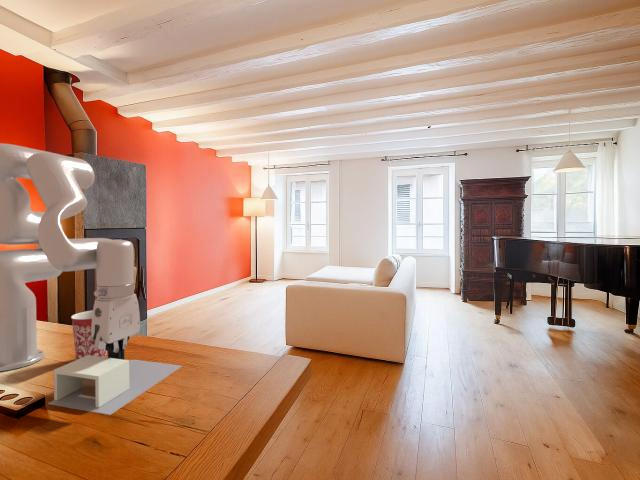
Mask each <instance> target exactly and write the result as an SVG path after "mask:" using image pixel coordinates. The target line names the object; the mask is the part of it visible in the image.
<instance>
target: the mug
mask: <svg viewBox="0 0 640 480" xmlns="http://www.w3.org/2000/svg"><path fill="white" fill-rule="evenodd" d="M92 314H93V310H86V311H83V312H78V313H75V314H72V315H71V316H70V319H71V323H72V333H73V334H72V335H73V343H74V353H75V361H76V360H78V359H80V358H83V357H85V356H87V355H91V356H99V357H106V356H108V351H105V349H100V350H99V349H94V345H95V342H94V341H93V340H92V333H91V327H92ZM111 344H112V343H111Z"/></svg>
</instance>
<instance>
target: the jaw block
mask: <svg viewBox="0 0 640 480" xmlns="http://www.w3.org/2000/svg"><path fill="white" fill-rule="evenodd" d="M82 395H87V396H93V397H96V391H95V379H88V378H82Z"/></svg>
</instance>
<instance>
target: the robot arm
mask: <svg viewBox="0 0 640 480" xmlns="http://www.w3.org/2000/svg"><path fill="white" fill-rule="evenodd" d="M95 177H96V176H95V172H94V169H93V167H92V165H90V164H89V163H88V161H86V160H84V159H82V158H78V157H73V156H68V155H63V154H60V153H55V152H51V151H47V150H46V151H45V150H40V149H35V148H30V147H27V146H22V145H17V144H11V143H0V245H3V246H4V245H7V246H9V245H10V246H11V245H12V246H14V245H20V246H21V245H36V248H28V249H27V248H21V249H20V248H19V249H5V250H4V249H3V250H0V372H4V371H10V370H16V369H20V368H23V367H26V366H29V365H32V364H35V363H37V362H39V361H41V360H42V359H43V358H44V357H45V351H44V350H41V349H38V337H37V336H38V335H37V334H38V333H37V330H38V329H37V297H36V296H35V295H36V294H35V293H34V292H33V291H32V290H31V289H30V288H29V287H28V286H27V285H26V283H32V282H38V281H46V280H51V279H56V278H58V277H59V276H60V275H61V274H63V272H76V271H82V270H93V269H94V270H95V269H96V273H95V274H96V276H95V277H96V290H94V292H93V295H94V296H95V297H96V299H94V304H93V308H92V311H93V314H92V327H91V333H92V340H93V341H94V342H95V345H94V349H99V350H100V349H105V351H107V358H114V359H122V360H125V349H126V348H127V346H128V342H129V339H130V338H132V337H134V336H135V335H136V334H137V333H138V332H139V331H140V329H141V317H140V316H141V314H140V307H139V306H140V305H139V301H138V297H137V294H136V293H135V289H134V288H135V287H134V285H135V280H134V279H135V277H134V276H135V275H134V274H135V273H134V272H135V271H134V269H135V266H134V264H135V263H134V262H135V261H134V260H135V259H134V253H135V252H134V244H133V242H131V241H129V240H125V239H111V238H105V237H91V238H90V237H82V238H81V237H80V238H68V237H67V235H66V234H65V232H64V229H63V228H64V227H63V225H62V222H61V221H64V220H65V219H70V218H71V217H73V216H76V215H78V214H79V213H82V212H83V211H84V210H85V209H86V208H87V206H88V200H87V199H88V198H86V195H85V194H84V192H83V190H86V189H88V188H91V186H93V185H94V182H95ZM18 179H24V180H30V181H31V182H32V183H33V185H34V187H35V189H36V191H37V194H38V195H39V197H40V198H41V199H40V200H42V201H41V202H42V203H43V204H44V205H43V206H44V207H45V208H46V211H32V209H31V195H30V194H29V192H28V190H27V188H26V187H25V186H24V185H23V183H21V182H20V181H19V180H18ZM111 343H112V344H111Z"/></svg>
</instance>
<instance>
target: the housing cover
mask: <svg viewBox="0 0 640 480" xmlns="http://www.w3.org/2000/svg"><path fill="white" fill-rule="evenodd" d="M129 361H130V360H129V359H124V360H122V359H114V358H108V356H107V357H106V356H104V357H99V356H91V355H87V356H85V357H83V358H80V359H78V360H76V359H75V360H73V361H71V362H69V363H67V364H64V365H61V366H59V367H57V368H55V369H53V397H54V398H53V400H56V401H58V400H59V399H61V398H63V397H65V396H67V395H69V394H71V393H73V392H75V391H77V390H78V389H80V388H82V378H88V379H95V391H96V407H98V408H99V407H101V406H102V405H104V404H106V403H107V402H109V401H110V400H112V399H114V398H115V397H117V396H118V395H120V394H122V393H123V392H125V391H126V390H128V389H129Z"/></svg>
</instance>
